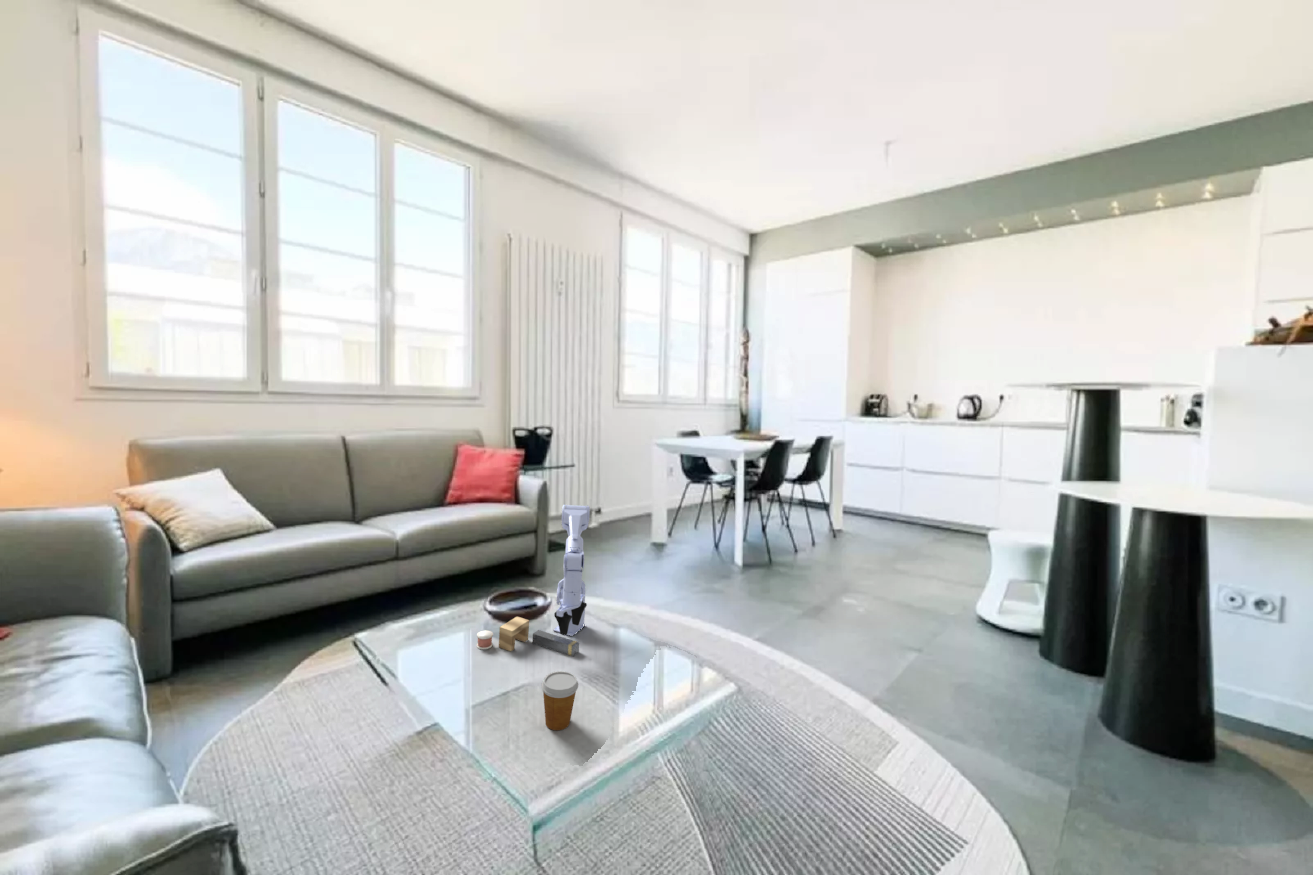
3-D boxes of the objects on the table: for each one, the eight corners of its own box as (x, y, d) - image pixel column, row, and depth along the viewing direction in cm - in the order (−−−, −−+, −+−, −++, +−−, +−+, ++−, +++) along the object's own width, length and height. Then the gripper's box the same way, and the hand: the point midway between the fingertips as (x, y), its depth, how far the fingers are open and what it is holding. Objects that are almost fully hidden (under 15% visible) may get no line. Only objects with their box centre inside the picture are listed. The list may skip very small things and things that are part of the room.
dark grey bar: (538, 639, 189) (538, 629, 189) (578, 652, 183) (579, 642, 183) (532, 643, 186) (532, 633, 186) (573, 656, 180) (574, 646, 180)
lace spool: (483, 640, 186) (484, 629, 185) (495, 644, 184) (496, 632, 183) (473, 646, 181) (473, 635, 181) (485, 651, 179) (485, 639, 179)
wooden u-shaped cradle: (516, 635, 190) (517, 616, 189) (528, 639, 188) (529, 620, 187) (498, 647, 182) (499, 627, 181) (511, 651, 180) (512, 631, 179)
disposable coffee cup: (559, 707, 154) (562, 666, 152) (583, 723, 148) (586, 680, 146) (531, 722, 146) (533, 679, 145) (555, 740, 140) (558, 695, 139)
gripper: (572, 579, 188) (570, 617, 190) (549, 594, 175) (546, 635, 176) (591, 583, 186) (588, 622, 187) (568, 599, 172) (566, 641, 174)
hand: (569, 629), depth 182 cm, fingers open, 7 cm apart
